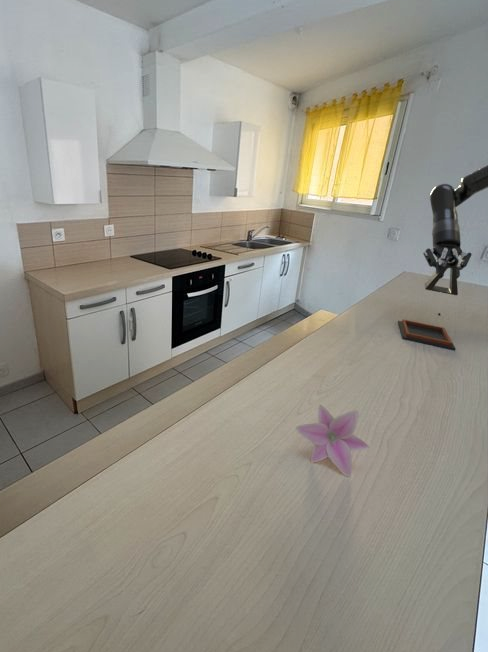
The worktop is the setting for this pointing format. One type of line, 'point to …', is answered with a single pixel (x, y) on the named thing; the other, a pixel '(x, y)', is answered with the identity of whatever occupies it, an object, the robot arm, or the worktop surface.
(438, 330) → the rimmed tray
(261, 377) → the worktop surface
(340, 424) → the lily
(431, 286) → the phone stand
